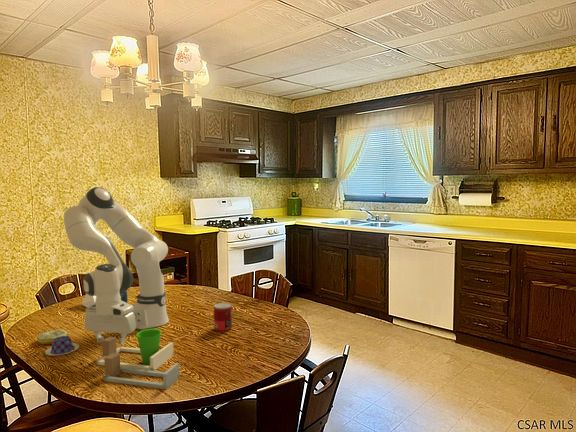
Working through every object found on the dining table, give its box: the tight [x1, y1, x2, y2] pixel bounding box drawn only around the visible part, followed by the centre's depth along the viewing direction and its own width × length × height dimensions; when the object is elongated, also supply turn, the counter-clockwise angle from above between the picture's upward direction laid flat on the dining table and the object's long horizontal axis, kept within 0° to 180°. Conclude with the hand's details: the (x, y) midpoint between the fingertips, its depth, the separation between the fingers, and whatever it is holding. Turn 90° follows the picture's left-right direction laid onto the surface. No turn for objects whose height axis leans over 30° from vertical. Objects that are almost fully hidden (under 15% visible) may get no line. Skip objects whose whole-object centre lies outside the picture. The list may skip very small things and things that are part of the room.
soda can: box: [119, 291, 129, 304], centre depth 204 cm, size 7×7×12 cm
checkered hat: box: [44, 335, 80, 356], centre depth 159 cm, size 12×12×5 cm
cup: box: [135, 328, 163, 366], centre depth 147 cm, size 9×9×11 cm
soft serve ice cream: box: [81, 293, 96, 309], centre depth 219 cm, size 12×15×14 cm
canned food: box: [213, 302, 233, 332], centre depth 180 cm, size 8×8×11 cm
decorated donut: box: [36, 328, 68, 346], centre depth 169 cm, size 10×11×4 cm
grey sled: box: [103, 353, 181, 390], centre depth 135 cm, size 25×8×7 cm, turn 75°
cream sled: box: [95, 336, 174, 371], centre depth 149 cm, size 25×13×7 cm, turn 75°
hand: (111, 342), depth 152 cm, fingers open, 8 cm apart
